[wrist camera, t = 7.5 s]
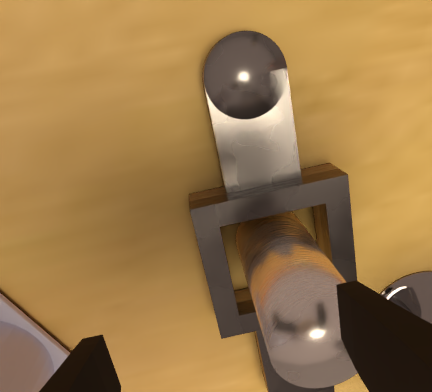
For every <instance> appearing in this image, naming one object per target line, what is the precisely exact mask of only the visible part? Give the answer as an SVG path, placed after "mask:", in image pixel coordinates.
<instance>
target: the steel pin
mask: <svg viewBox="0 0 432 392" xmlns="http://www.w3.org/2000/svg"><path fill="white" fill-rule="evenodd" d="M236 246H237V250H238V253H239V256H240V260H241V263H242V266H243V270H244V273H245V277H246V280H247V283H248V287H249V290H250V293H251V297H252V300H253V303H254V307H255V310H256V314H257V317H258V320H259V324H260V327H261V330H262V334H263V337H264V341H265V344H266V347H267V351H268V354H269V357H270V361H271V364H272V366H273V368H274V369H275V371H276V372H277V373H278V374H279V375H280V376H281V377H282V378H283V379H284V380H286V381H288V382H289V383H291V384H294V385H296V386H300V387H305V388H324V387H330V386H333V385H337V384H339V383H342V382H344V381H346V380H348V379H349V378H351V377H353V376H354V375H355V374H357V373H358V372H357V371H356V369H355V367H354V365H353V363H352V361H351V359H350V357H349V355H348V352H347V350H346V348H345V346H344V344H343V341H342V339H341V331H340V320H339V309H338V299H337V288H336V285H337V284H341V283H346V281H345V280H344V279H343V277H342V276H341V275H340V273H339V272H338V271H337V269H336V268H335V267H334V265H333V264H332V263H331V261H330V260H329V259H328V257H327V256H326V255H325V254H324V252H323V251H322V250H321V248H320V247H319V246H318V244H317V243H316V242H315V240H314V239H313V238H312V236H311V235H310V234H309V232H308V231H307V230H306V228H305V227H304V226H303V225H302V223H301V222H300V221H299V219H298V218H297V217H296V216H295V215H294V214H293V213H292V212H291V211H289V212H284V213H280V214H275V215H271V216H266V217H262V218H257V219H253V220H248V221H244V222H241V223H240V225H239V227H238V229H237V233H236Z"/></svg>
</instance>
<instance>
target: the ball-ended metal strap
mask: <svg viewBox="0 0 432 392" xmlns="http://www.w3.org/2000/svg"><path fill="white" fill-rule="evenodd" d="M202 78H203V86H204V91H205V95H206V100H207V105H208V110H209V115H210V120H211V124H212V129H213V134H214V139H215V144H216V149H217V153H218V158H219V163H220V168H221V173H222V177H223V182H224V186H223V187H219V188H214V189H210V190H205V191H201V192H196V193H192V194H189V205H190V213H191V217H192V221H193V225H194V229H195V233H196V237H197V241H198V245H199V250H200V254H201V258H202V262H203V266H204V270H205V274H206V278H207V282H208V286H209V290H210V294H211V298H212V302H213V306H214V310H215V315H216V319H217V323H218V327H219V331H220V335H221V339H222V338H227V337H231V336H236V335H240V334H244V333H249V332H253V331H254V332H255V337H256V342H257V347H258V351H259V356H260V361H261V366H262V371H263V375H264V379H265V382H266V386H267V390H268V392H334V385H333V386H330V387H324V388H305V387H300V386H296V385H294V384H291V383H289V382H288V381H286V380H284V379H283V378H282V377H281V376H280V375H279V374H278V373H277V372H276V371H275V369H274V368H273V366H272V364H271V361H270V357H269V354H268V351H267V347H266V344H265V341H264V337H263V334H262V330H261V327H260V324H259V320H258V317H257V314H256V310H255V307H254V303H253V300H252V297H251V293H250V290H249V288H246V289H241V290H237V291H234V290H233V286H232V281H231V277H230V272H229V268H228V263H227V259H226V254H225V249H224V245H223V240H222V236H221V231H220V227H221V226H226V225H230V224H235V223H239V222H244V221H248V220H253V219H257V218H262V217H266V216H271V215H275V214H280V213H284V212H289V211H293V210H298V209H302V208H307V207H311V206H313V212H314V220H315V228H316V237H317V244H318V246H319V247H320V248H321V250H322V251H323V252H324V254H325V255H326V256H327V257H328V259H329V260H330V261H331V263H332V264H333V265H334V267H335V268H336V269H337V271H338V272H339V273H340V275H341V276H342V277H343V279H344V280H345V281H346V282H351V281H355V280H356V281H357V274H356V262H355V251H354V239H353V228H352V216H351V204H350V193H349V181H348V174H346V173H345V172H343V171H342V170H340V169H339V168H337V167H335V166H334V165H332V164H331V163H327V164H323V165H318V166H314V167H309V168H305V169H300V163H299V156H298V148H297V140H296V133H295V125H294V118H293V110H292V102H291V95H290V87H289V80H288V72H287V66H286V61H285V58H284V56H283V54H282V52H281V50H280V48H279V47H278V46H277V45H276V43H275V42H273V41H272V40H271V39H270V38H268V37H267V36H265V35H263V34H261V33H258V32H253V31H240V32H236V33H232V34H230V35H228V36H226V37H225V38H223V39H222V40H220V41H219V42H218V43H217V44H215V46H214V47H213V48H212V49H211V50H210V52H209V53H208V55H207V57H206V60H205V62H204V66H203V73H202Z"/></svg>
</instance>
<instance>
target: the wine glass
mask: <svg viewBox="0 0 432 392" xmlns="http://www.w3.org/2000/svg"><path fill="white" fill-rule="evenodd" d="M380 295H381V296H383V297H385V298H387V299H388V300H390V301H392V302H393V303H395V304H397V305H398V306H400V307H402V308H404V309H405V310H407V311H409V312H411V313H413V314H414V315H416V316H418V317H420V318H422V319H424V320H426V321H428V322H429V323H431V324H432V271H423V272H418V273H413V274H410V275H407V276H405V277H403V278H401V279H399V280H397V281H395V282H393V283H392V284H391V285H389V286H388V287H387V288H385V289H384V290H383V291H382V292H381V293H380Z"/></svg>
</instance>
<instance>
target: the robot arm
mask: <svg viewBox="0 0 432 392" xmlns="http://www.w3.org/2000/svg"><path fill="white" fill-rule="evenodd" d="M336 288H337V299H338V309H339V320H340V331H341V339H342V341H343V344H344V346H345V348H346V350H347V352H348V355H349V357H350V359H351V361H352V363H353V365H354V367H355V369H356V371H357V372H358V374H359V376H360V377H361V379H362V381H363V382H364V384H365V386H366V387H367V389H368V390H369V392H432V324H431V323H429V322H428V321H426V320H424V319H422V318H420V317H418V316H416V315H414V314H413V313H411V312H409V311H407V310H405V309H404V308H402V307H400V306H398V305H397V304H395V303H393V302H392V301H390V300H388V299H387V298H385V297H383V296H381V295H380V294H378V293H376V292H375V291H373V290H371V289H370V288H368V287H366V286H365V285H363V284H361V283H360V282H358V281H356V280H355V281H351V282H346V283H341V284H337V285H336ZM0 392H121V385H120V382H119V379H118V377H117V374H116V371H115V368H114V365H113V363H112V360H111V357H110V354H109V351H108V349H107V346H106V343H105V340H104V337H103V335H98V336H94V337H89V338H84V339H82V340H81V341H80V342H79V344H78V345H77V346H76V347H75V348H74V349H73V351H72V352H71V353H70V352H69V351H67V350H66V349H65V348H64V347H63V346H62V345H60V344H59V343H58V342H57V341H56V340H55V339H53V338H52V337H51V336H50V335H49V334H48V333H46V332H45V331H44V330H43V329H42V328H41V327H39V326H38V325H37V324H36V323H35V322H34V321H32V320H31V319H30V318H29V317H28V316H27V315H25V314H24V313H23V312H22V311H21V310H20V309H18V308H17V307H16V306H15V305H14V304H13V303H11V302H10V301H9V300H8V299H7V298H6V297H4V296H3V295H2V294H1V293H0Z"/></svg>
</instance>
